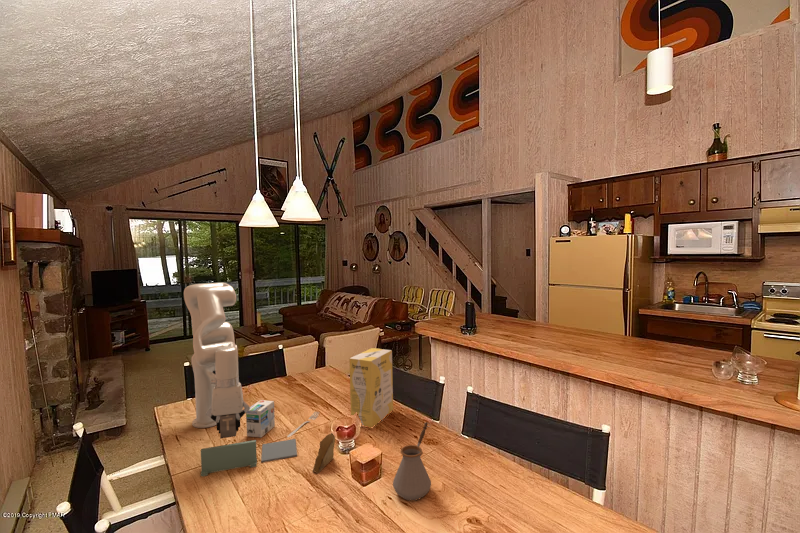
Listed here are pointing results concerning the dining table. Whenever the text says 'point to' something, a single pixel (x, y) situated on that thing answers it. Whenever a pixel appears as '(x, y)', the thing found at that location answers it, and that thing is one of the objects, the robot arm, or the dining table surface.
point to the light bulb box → (260, 418)
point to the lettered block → (228, 426)
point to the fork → (302, 424)
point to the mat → (279, 450)
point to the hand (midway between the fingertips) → (228, 430)
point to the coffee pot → (412, 472)
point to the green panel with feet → (228, 457)
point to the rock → (325, 453)
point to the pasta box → (371, 385)
